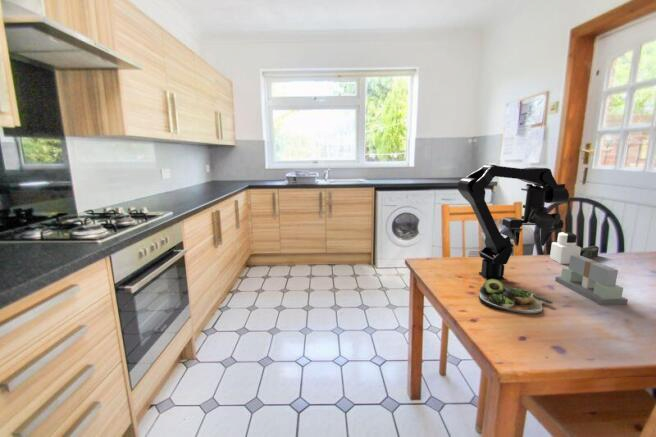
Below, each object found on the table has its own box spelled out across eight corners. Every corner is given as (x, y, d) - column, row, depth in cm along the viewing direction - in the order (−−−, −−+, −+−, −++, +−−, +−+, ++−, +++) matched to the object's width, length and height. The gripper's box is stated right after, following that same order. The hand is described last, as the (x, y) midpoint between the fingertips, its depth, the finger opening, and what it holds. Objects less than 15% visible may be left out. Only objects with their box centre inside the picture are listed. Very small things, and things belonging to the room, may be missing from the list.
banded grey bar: (605, 286, 92) (608, 270, 91) (568, 269, 106) (570, 255, 105) (615, 285, 92) (618, 270, 91) (577, 268, 106) (579, 255, 105)
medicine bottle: (567, 258, 131) (571, 231, 129) (578, 264, 124) (583, 235, 122) (549, 258, 132) (553, 231, 129) (559, 264, 125) (564, 235, 122)
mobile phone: (592, 244, 135) (576, 249, 127) (600, 246, 132) (585, 251, 125) (590, 255, 136) (574, 260, 128) (598, 257, 133) (583, 262, 126)
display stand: (600, 304, 91) (603, 289, 90) (555, 280, 109) (557, 267, 108) (626, 304, 91) (629, 288, 90) (577, 280, 109) (579, 266, 108)
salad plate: (549, 296, 98) (550, 283, 97) (556, 323, 83) (558, 307, 82) (481, 285, 107) (482, 272, 106) (476, 307, 92) (478, 292, 91)
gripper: (521, 207, 102) (516, 252, 105) (579, 207, 101) (572, 252, 105) (503, 202, 113) (499, 243, 116) (555, 202, 112) (549, 243, 115)
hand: (529, 245), depth 113 cm, fingers open, 9 cm apart
